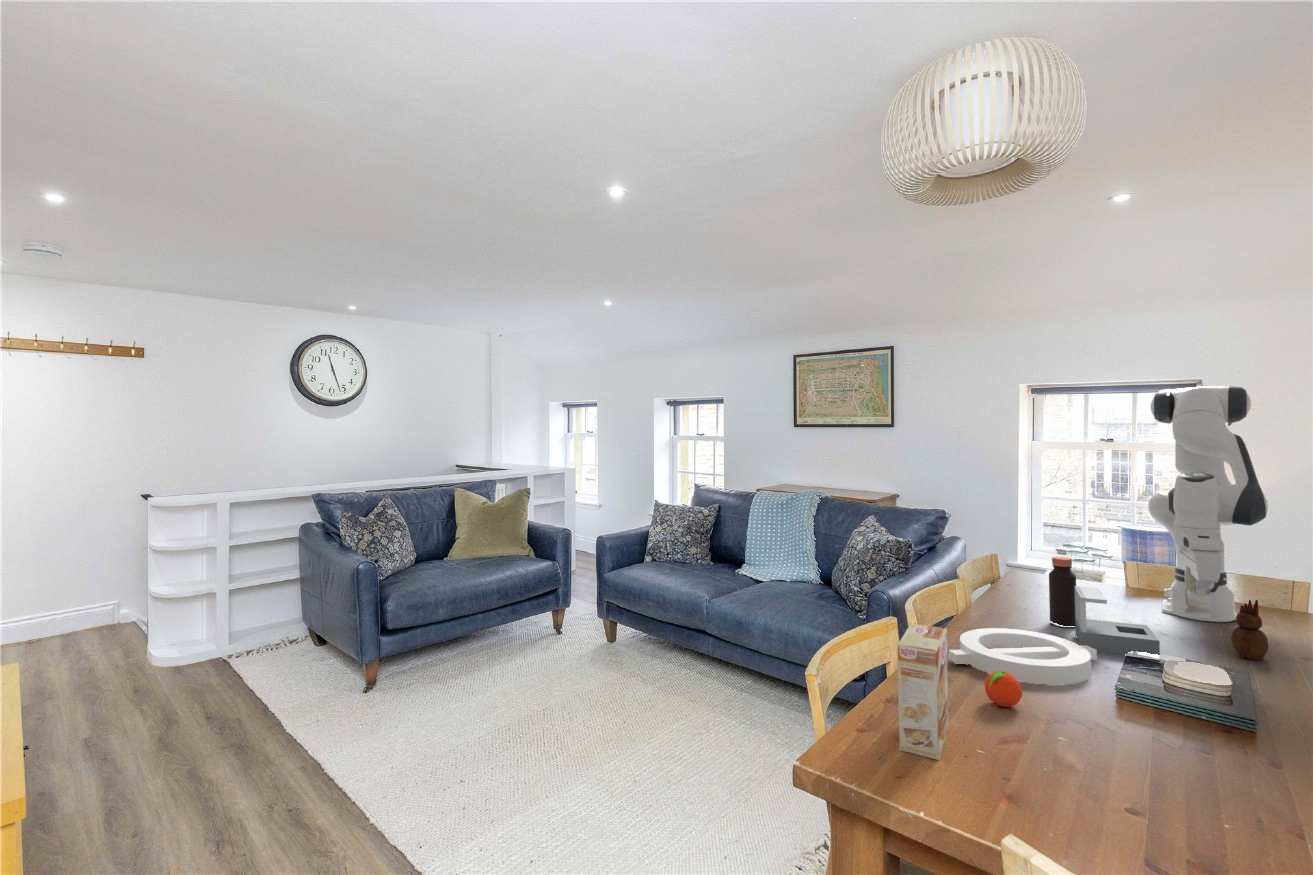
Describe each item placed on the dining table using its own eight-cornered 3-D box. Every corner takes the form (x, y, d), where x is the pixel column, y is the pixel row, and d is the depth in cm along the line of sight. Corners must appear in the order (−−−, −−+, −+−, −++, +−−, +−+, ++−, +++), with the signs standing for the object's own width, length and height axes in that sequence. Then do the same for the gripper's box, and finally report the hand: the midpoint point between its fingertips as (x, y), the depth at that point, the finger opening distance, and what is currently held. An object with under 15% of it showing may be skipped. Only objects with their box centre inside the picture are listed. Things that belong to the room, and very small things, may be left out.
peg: (1185, 611, 155) (1184, 564, 155) (1205, 613, 153) (1204, 566, 153) (1189, 615, 152) (1188, 568, 152) (1210, 617, 150) (1209, 569, 150)
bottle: (1052, 627, 179) (1051, 559, 179) (1047, 620, 185) (1046, 555, 185) (1079, 629, 176) (1078, 560, 177) (1073, 622, 183) (1072, 556, 183)
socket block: (1075, 635, 171) (1074, 585, 171) (1147, 643, 163) (1146, 591, 163) (1082, 650, 159) (1080, 597, 159) (1159, 660, 151) (1158, 604, 151)
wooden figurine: (1274, 663, 148) (1272, 602, 148) (1246, 662, 149) (1245, 601, 149) (1253, 653, 155) (1251, 595, 155) (1226, 652, 156) (1225, 594, 156)
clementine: (1006, 716, 123) (1005, 681, 123) (974, 703, 129) (973, 670, 129) (1029, 708, 127) (1029, 673, 127) (997, 695, 133) (997, 663, 133)
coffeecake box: (940, 761, 107) (938, 650, 107) (897, 750, 110) (895, 643, 110) (950, 726, 119) (948, 627, 119) (911, 718, 123) (909, 622, 123)
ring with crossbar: (945, 667, 151) (944, 647, 151) (977, 638, 171) (977, 621, 171) (1080, 697, 132) (1080, 675, 132) (1099, 661, 152) (1098, 642, 152)
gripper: (1169, 530, 163) (1170, 581, 163) (1191, 543, 145) (1192, 601, 145) (1200, 531, 160) (1201, 583, 160) (1226, 545, 142) (1227, 604, 142)
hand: (1197, 592), depth 152 cm, fingers closed on peg, 4 cm apart
